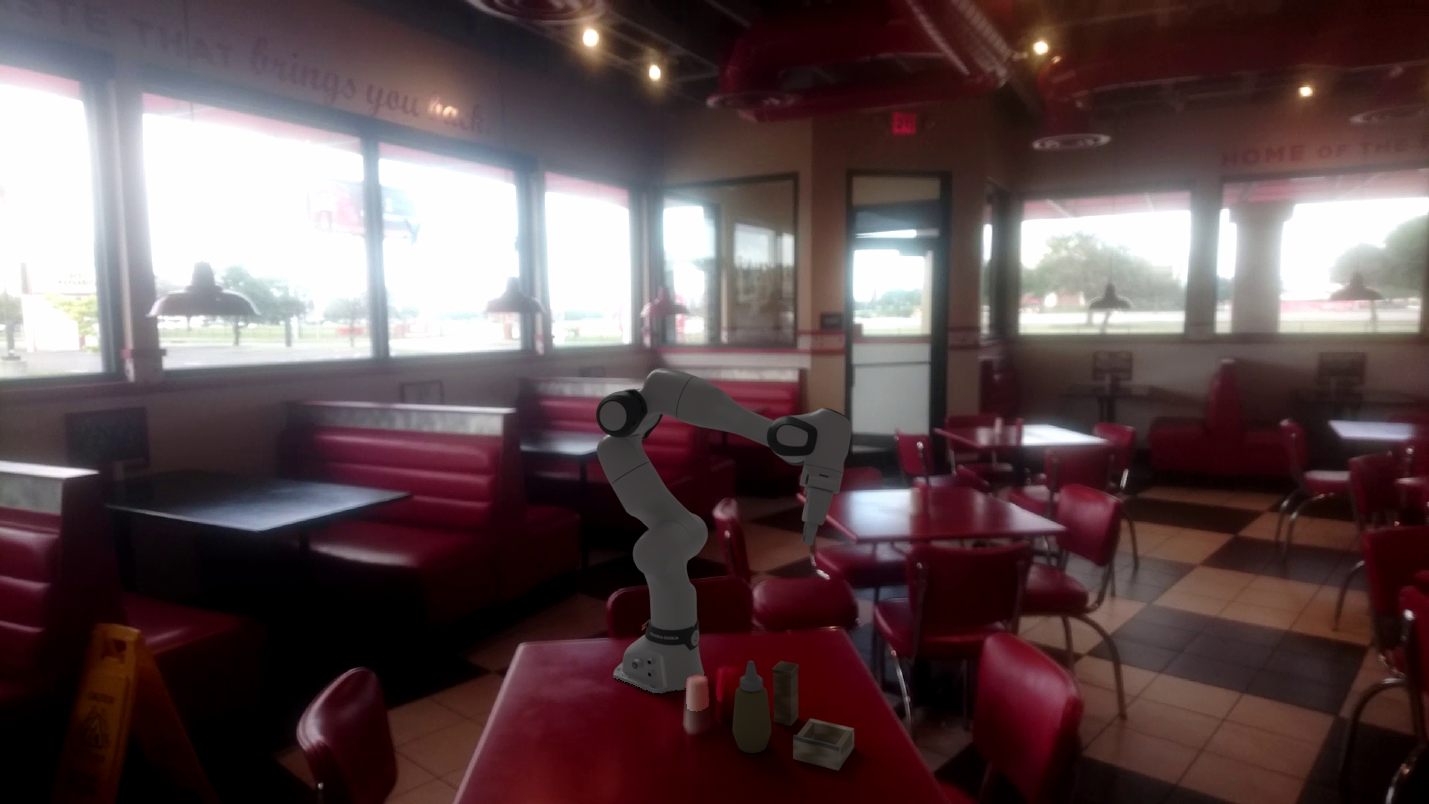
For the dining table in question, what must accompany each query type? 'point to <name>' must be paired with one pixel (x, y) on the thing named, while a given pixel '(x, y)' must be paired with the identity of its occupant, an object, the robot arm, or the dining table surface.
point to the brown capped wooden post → (785, 693)
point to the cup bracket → (823, 744)
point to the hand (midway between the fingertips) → (806, 544)
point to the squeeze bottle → (751, 713)
